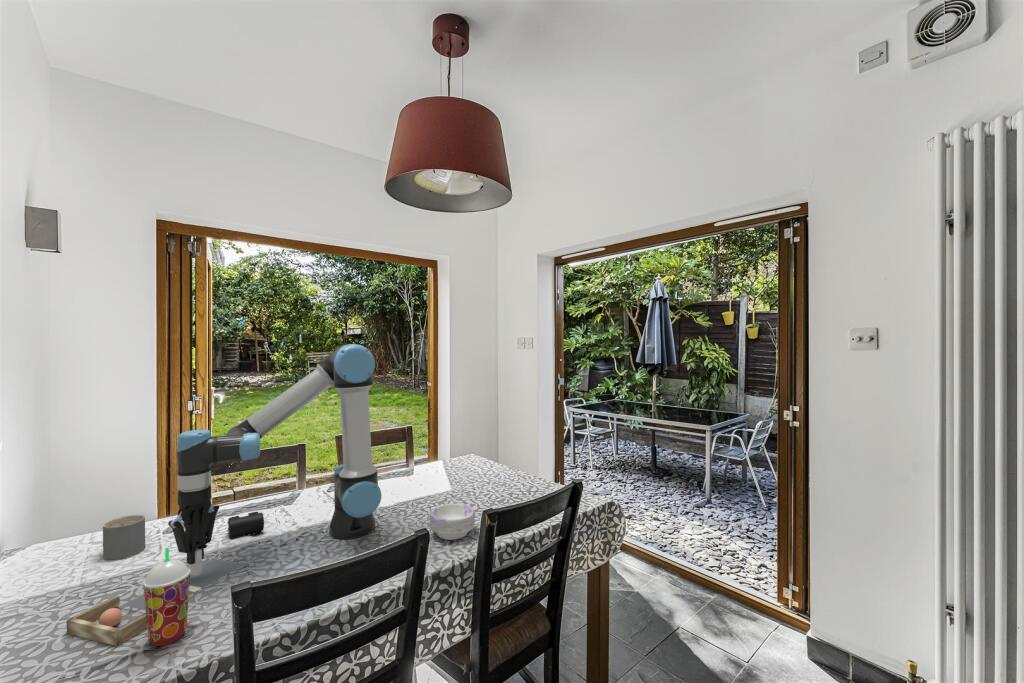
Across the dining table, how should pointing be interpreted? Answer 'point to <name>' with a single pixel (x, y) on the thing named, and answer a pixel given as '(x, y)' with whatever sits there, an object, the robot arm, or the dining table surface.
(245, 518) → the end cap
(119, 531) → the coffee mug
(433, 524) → the paper bowls
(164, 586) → the smoothie
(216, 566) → the lane
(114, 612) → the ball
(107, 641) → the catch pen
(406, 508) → the dining table surface
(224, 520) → the dining table surface
